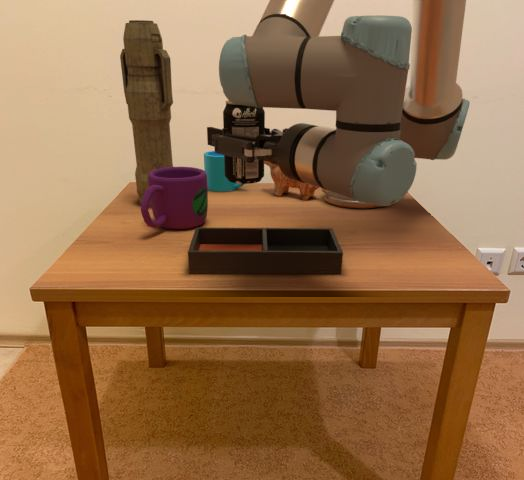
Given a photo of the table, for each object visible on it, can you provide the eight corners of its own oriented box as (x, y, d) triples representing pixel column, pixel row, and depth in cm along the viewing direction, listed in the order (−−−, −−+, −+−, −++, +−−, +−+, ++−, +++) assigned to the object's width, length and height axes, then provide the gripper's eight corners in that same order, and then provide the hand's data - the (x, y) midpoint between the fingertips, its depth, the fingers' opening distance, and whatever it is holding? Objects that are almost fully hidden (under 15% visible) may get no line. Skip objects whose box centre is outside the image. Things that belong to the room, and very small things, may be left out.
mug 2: (199, 189, 128) (197, 154, 124) (216, 182, 134) (215, 149, 130) (241, 194, 124) (240, 159, 119) (256, 187, 130) (256, 153, 126)
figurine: (270, 187, 130) (271, 146, 125) (328, 196, 123) (331, 152, 118) (256, 193, 125) (256, 150, 120) (315, 203, 118) (318, 157, 113)
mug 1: (173, 212, 110) (169, 164, 105) (219, 219, 106) (217, 169, 101) (121, 235, 97) (113, 181, 91) (171, 244, 92) (166, 188, 87)
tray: (196, 247, 91) (195, 227, 90) (330, 247, 92) (332, 228, 90) (189, 273, 81) (187, 251, 79) (341, 274, 81) (343, 252, 79)
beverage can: (242, 174, 90) (242, 98, 84) (271, 180, 86) (273, 101, 80) (216, 180, 85) (214, 101, 79) (246, 186, 82) (245, 103, 76)
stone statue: (169, 210, 111) (153, 19, 94) (125, 204, 115) (102, 20, 98) (190, 200, 118) (179, 21, 101) (148, 195, 122) (130, 22, 105)
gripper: (253, 192, 67) (177, 163, 83) (363, 176, 76) (275, 152, 93) (254, 131, 63) (173, 112, 79) (369, 121, 72) (276, 107, 89)
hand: (228, 134), depth 86 cm, fingers closed on beverage can, 7 cm apart
